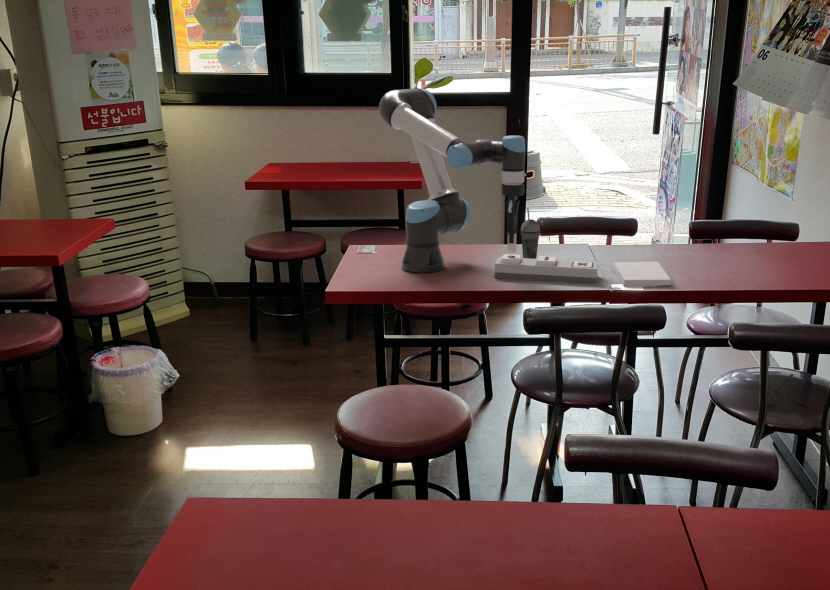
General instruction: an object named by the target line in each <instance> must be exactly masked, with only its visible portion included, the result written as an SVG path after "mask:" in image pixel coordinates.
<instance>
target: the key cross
mask: <svg viewBox="0 0 830 590" xmlns="http://www.w3.org/2000/svg"><path fill="white" fill-rule="evenodd" d="M591 262H592V261H585V262H574V264H573V267H581V268H592V263H591Z"/></svg>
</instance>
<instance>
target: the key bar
mask: <svg viewBox="0 0 830 590" xmlns="http://www.w3.org/2000/svg"><path fill="white" fill-rule="evenodd" d="M536 259H537V265H544V266H556V260H557V256H548V255H547V256H546V255H538V256H537V258H536Z"/></svg>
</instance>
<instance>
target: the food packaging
mask: <svg viewBox="0 0 830 590" xmlns="http://www.w3.org/2000/svg"><path fill="white" fill-rule="evenodd" d="M613 268H614V272H615V275H616V276H617V278H618V280H619V282H620V283H621V284H622V286H623V287H626V288H628V287H629V288H631V287H633V288H638V287H639V288H640V287H641V288H643V287H644V288H645V287H646V288H647V287H648V288H650V287H653V288H655V287H656V288H657V287H663V286H664V287H665V286H671V285H672V278H671V277H670V276H669V275H668V274H667V272H666V271H665V269H664V268H663V267H662V266H661V264H660V263H659V262H658V261H613Z"/></svg>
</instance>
